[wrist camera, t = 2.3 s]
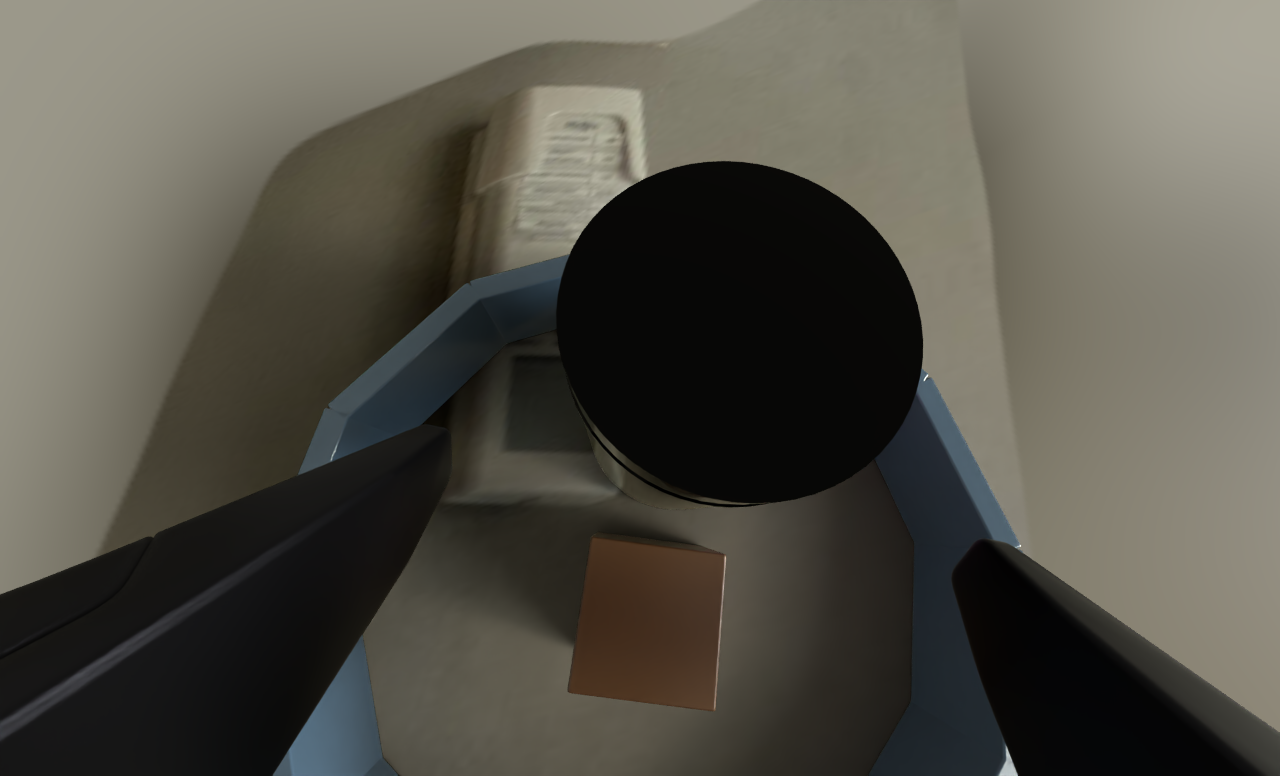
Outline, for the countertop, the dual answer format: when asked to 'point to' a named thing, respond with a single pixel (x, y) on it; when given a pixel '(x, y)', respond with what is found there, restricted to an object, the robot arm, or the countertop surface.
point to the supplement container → (735, 337)
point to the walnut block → (649, 622)
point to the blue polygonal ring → (910, 464)
